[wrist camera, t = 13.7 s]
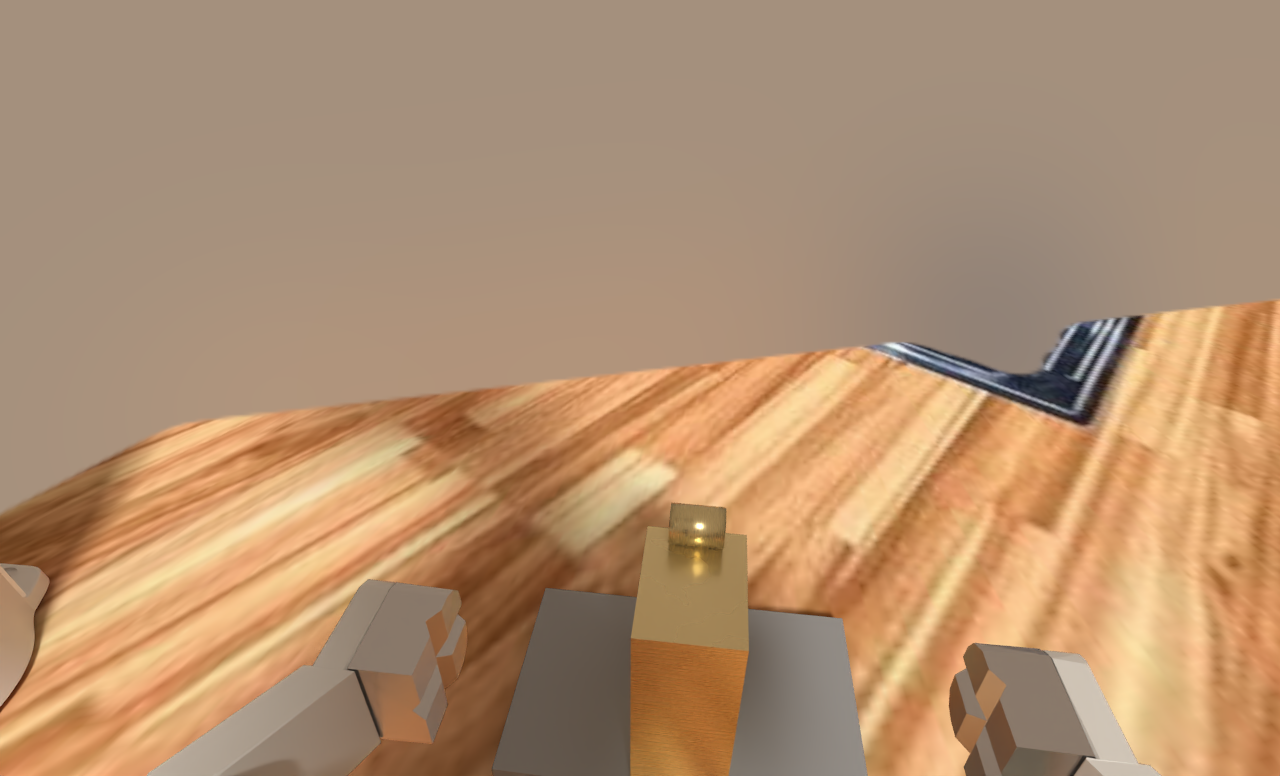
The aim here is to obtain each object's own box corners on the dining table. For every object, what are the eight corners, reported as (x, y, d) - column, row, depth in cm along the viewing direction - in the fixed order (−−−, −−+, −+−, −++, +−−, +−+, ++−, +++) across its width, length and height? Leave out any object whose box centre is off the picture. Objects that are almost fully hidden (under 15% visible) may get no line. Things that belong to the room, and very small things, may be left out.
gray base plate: (494, 781, 33) (467, 657, 27) (546, 600, 42) (534, 480, 36) (869, 831, 31) (921, 710, 26) (838, 631, 40) (872, 510, 35)
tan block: (630, 783, 32) (630, 607, 24) (645, 664, 37) (648, 492, 30) (725, 795, 31) (753, 620, 24) (726, 674, 36) (750, 501, 29)
